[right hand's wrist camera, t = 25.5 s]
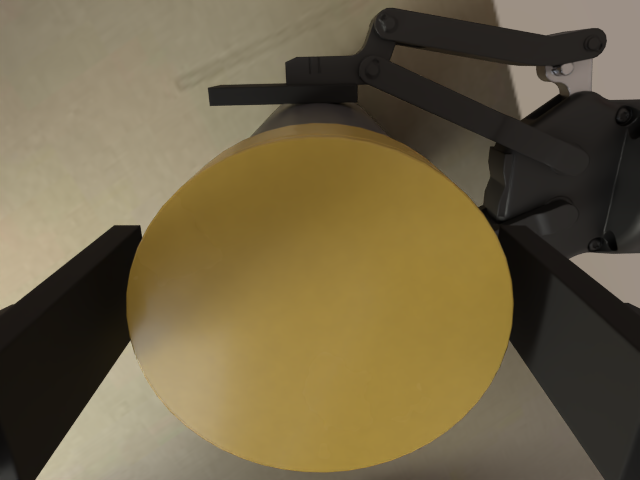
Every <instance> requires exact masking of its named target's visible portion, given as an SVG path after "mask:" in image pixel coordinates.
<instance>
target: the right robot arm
mask: <svg viewBox="0 0 640 480" xmlns="http://www.w3.org/2000/svg"><path fill="white" fill-rule="evenodd" d="M498 239H499V242H500V244H501V246H502V249H503V251H504V254H505V256H506V259H507V263H508V267H509V271H510V275H511V279H512V288H513V300H514V307H513V322H512V329H511V333H510V338H509V340H510V342H511V343H512V345H513V346H514V347H515V349H516V350H517V352H518V353H519V355H520V356H521V358H522V359H523V361H524V362H525V364H526V365H527V366H528V368H529V369H530V371H531V372H532V374H533V375H534V377H535V378H536V380H537V381H538V383H539V384H540V385H541V387H542V388H543V390H544V391H545V393H546V394H547V396H548V397H549V399H550V400H551V402H552V403H553V405H554V406H555V407H556V409H557V410H558V412H559V413H560V415H561V416H562V418H563V419H564V421H565V422H566V424H567V425H568V426H569V428H570V429H571V431H572V432H573V434H574V435H575V437H576V438H577V440H578V441H579V443H580V444H581V446H582V447H583V448H584V450H585V451H586V453H587V454H588V456H589V457H590V459H591V460H592V462H593V463H594V465H595V466H596V467H597V469H598V470H599V472H600V473H601V475H602V476H603V478H604V479H605V480H640V308H638V307H636V306H634V305H631V304H629V303H623V302H622V301H621V300H619V299H618V298H617V297H616V296H614V295H613V294H612V293H611V292H609V291H608V290H607V289H606V288H604V287H603V286H602V285H600V284H599V283H598V282H597V281H595V280H594V279H593V278H592V277H590V276H589V275H588V274H587V273H585V272H584V271H583V270H582V269H580V268H579V267H578V266H576V265H575V264H574V263H573V262H571V261H570V260H569V259H568V258H566V257H565V256H564V255H563V254H561V253H560V252H559V251H558V250H556V249H555V248H554V247H552V246H551V245H550V244H549V243H547V242H546V241H545V240H544V239H542V238H541V237H540V236H539V235H537V234H536V233H535V232H533V231H532V230H531V229H530V228H528V227H527V226H526V225H500V227H499V234H498ZM141 240H142V234H141V227H140V225H114V226H113V227H112V228H110V229H109V230H108V231H107V232H105V233H104V234H103V235H101V236H100V237H99V238H98V239H96V240H95V241H94V242H93V243H91V244H90V245H89V246H88V247H86V248H85V249H84V250H82V251H81V252H80V253H79V254H77V255H76V256H75V257H74V258H72V259H71V260H70V261H69V262H67V263H66V264H65V265H64V266H62V267H61V268H60V269H58V270H57V271H56V272H55V273H53V274H52V275H51V276H50V277H48V278H47V279H46V280H45V281H43V282H42V283H41V284H39V285H38V286H37V287H36V288H34V289H33V290H32V291H31V292H29V293H28V294H27V295H26V296H24V297H23V298H22V299H21V300H19V301H18V302H17V303H15V304H12V305H10V306H8V307H6V308H4V309H2V310H0V480H35V479H36V478H37V476H38V475H39V473H40V472H41V470H42V469H43V467H44V466H45V465H46V463H47V462H48V460H49V459H50V457H51V456H52V454H53V453H54V451H55V450H56V448H57V447H58V446H59V444H60V443H61V441H62V440H63V438H64V437H65V435H66V434H67V432H68V431H69V429H70V428H71V426H72V425H73V424H74V422H75V421H76V419H77V418H78V416H79V415H80V413H81V412H82V410H83V409H84V407H85V406H86V405H87V403H88V402H89V400H90V399H91V397H92V396H93V394H94V393H95V391H96V390H97V388H98V387H99V385H100V384H101V383H102V381H103V380H104V378H105V377H106V375H107V374H108V372H109V371H110V369H111V368H112V366H113V365H114V364H115V362H116V361H117V359H118V358H119V356H120V355H121V353H122V352H123V350H124V349H125V347H126V346H127V345H128V343H129V342H130V335H129V329H128V322H127V315H126V293H127V287H128V280H129V274H130V269H131V266H132V263H133V260H134V256H135V253H136V250H137V247H138V245H139V244H140V242H141Z"/></svg>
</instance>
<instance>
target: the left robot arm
mask: <svg viewBox="0 0 640 480" xmlns="http://www.w3.org/2000/svg"><path fill="white" fill-rule="evenodd" d="M606 42H607V40H606V35H605V33H604V32H603V31H602V30H601V29H599V28H591V29H583V30H575V31H567V32H561V33H556V34H551V35H540V34H535V33H529V32H523V31H518V30H512V29H507V28H502V27H496V26H490V25H485V24H479V23H474V22H468V21H463V20H457V19H452V18H446V17H441V16H435V15H429V14H424V13H418V12H413V11H407V10H402V9H396V8H386V9H384V10H382V11H381V12H380V13H378V14H377V15H376V16H375V17H374V18H373V19H372V20H371V23H370V26H369V30H368V33H367V36H366V39H365V42H364V45H363V47H362V48H361V50H360V51H359V52H358V53H356V54H354V55H352V56H323V57H296V58H294V59H291V60H289V61H287V62H285V65H286V83H284V84H243V85H219V86H214V87H210V88H208V93H209V102H210V106H225V105H267V104H309V103H351V102H357V85H364V84H368V85H371V86H373V87H375V88H377V89H380V90H382V91H384V92H386V93H388V94H391V95H393V96H395V97H397V98H399V99H402V100H404V101H406V102H408V103H411V104H413V105H415V106H417V107H419V108H422V109H424V110H426V111H428V112H430V113H433V114H435V115H437V116H439V117H442V118H444V119H446V120H448V121H450V122H453V123H455V124H457V125H459V126H461V127H464V128H466V129H468V130H470V131H473V132H475V133H477V134H479V135H481V136H484V137H486V138H488V139H490V140H492V141H495V142H496V143H495V146H494V147H490V151H489V160H488V163H489V169H490V179H489V182H488V184H487V187H486V190H485V194H484V203H483V205H482V206H480V207H478V208H479V209H480V211H481V212H482V213H483V214H484V216H485V217H486V219H487V220H488V222H489V224H490V225H491V227H492V228H493V230H494V232H495V233H496V235H497V237H498V234H499V227H500V225H526V226H527V227H528V228H530V229H531V230H532V231H533V232H535V233H536V234H537V235H539V236H540V237H541V238H542V239H544V240H545V241H546V242H547V243H549V244H550V245H551V246H552V247H554V248H555V249H556V250H558V251H559V252H560V253H561V254H563V255H564V256H565V257H566V258H568V259H569V258H571V257H573V256H576V255H578V254H582V253H586V252H594V253H609V254H621V253H640V99H639V100H608V99H605V98H603V97H602V96H601V95H599V94H597V93H595V92H592V58H595V57H597V56H598V55H599V54H601V53H602V51H603V50H604V48H605V46H606ZM395 45H400V46H406V47H412V48H417V49H423V50H429V51H434V52H440V53H446V54H451V55H457V56H463V57H469V58H474V59H480V60H486V61H491V62H497V63H503V64H508V65H517V66H536V71H537V75H538V77H539V78H540V79H541V80H543V81H547V82H553V83H555V84H556V85H557V86H558V88H559V91H560V94H558V95H557V96H555V97H554V98H552V99H551V100H550V101H548V102H547V103H545V104H544V105H542V106H541V107H539V108H538V109H537V110H535V111H534V112H532V113H531V114H529V115H528V116H526V117H525V118H524V119H522V120H521V121H519V120H517V119H514V118H512V117H510V116H507V115H505V114H502V113H500V112H498V111H496V110H493V109H491V108H489V107H487V106H485V105H483V104H481V103H478V102H476V101H474V100H472V99H470V98H468V97H465V96H463V95H461V94H459V93H457V92H455V91H452V90H450V89H448V88H446V87H444V86H442V85H440V84H437V83H435V82H433V81H431V80H429V79H427V78H424V77H422V76H420V75H418V74H416V73H414V72H411V71H409V70H407V69H405V68H403V67H401V66H399V65H396V64H394V63H392V62H390V58H391V55H392V52H393V50H394V47H395Z"/></svg>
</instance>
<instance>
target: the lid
mask: <svg viewBox="0 0 640 480" xmlns="http://www.w3.org/2000/svg"><path fill="white" fill-rule="evenodd" d="M513 307H514V300H513V288H512V279H511V275H510V271H509V267H508V263H507V259H506V256H505V254H504V251H503V249H502V246H501V244H500V242H499V239H498V237H497V235H496V233H495V232H494V230H493V228H492V227H491V225H490V224H489V222H488V220H487V219H486V217H485V216H484V214H483V213H482V212H481V211H480V209H479V208H478V207H477V206H476V205H475V204H474V202H473V201H472V200H471V199H470V198H469V197H468V195H467V194H466V193H464V192H463V191H462V190H461V189H460V188H459V187H458V186H457V185H456V184H454V183H453V182H452V181H451V180H450V179H449V178H448V177H447V176H445V175H444V174H443V173H442V172H441V171H440V170H439V169H438V168H436V167H435V166H434V165H433V164H432V163H431V162H430V161H428V160H427V159H426V158H425V157H424V156H422V155H420V154H419V153H417V152H416V151H414V150H413V149H411V148H410V147H408V146H407V145H405V144H403V143H401V142H399V141H396V140H394V139H392V138H390V137H388V136H386V135H383V134H380V133H377V132H373V131H370V130H367V129H364V128H360V127H354V126H348V125H342V124H328V123H309V124H300V125H290V126H285V127H281V128H277V129H273V130H269V131H265V132H263V133H260V134H258V135H255V136H252V137H250V138H247V139H245V140H243V141H241V142H239V143H237V144H236V145H234V146H232V147H230V148H229V149H227V150H225V151H223V152H222V153H221V154H219V155H218V156H217V157H215V158H214V159H213V160H212V161H210V162H209V163H208V164H206V165H205V166H204V167H203V168H202V169H201V170H200V171H198V172H197V173H196V174H195V175H194V176H193V177H192V178H191V179H189V180H188V181H187V182H186V183H185V184H184V185H183V186H182V187H181V188H180V189H179V190H178V191H177V192H176V193H175V194H174V195H173V196H172V197H171V198H170V199H169V200H168V201H167V202H166V203H165V204H164V205H163V206H162V208H161V209H160V210H159V212H158V213H157V215H156V216H155V217H154V219H153V220H152V222H151V223H150V224H149V226H148V228H147V230H146V232H145V234H144V236H143V238H142V240H141V242H140V244H139V245H138V247H137V250H136V253H135V256H134V260H133V263H132V266H131V269H130V274H129V280H128V287H127V293H126V315H127V322H128V329H129V335H130V340H131V343H132V346H133V350H134V353H135V356H136V359H137V361H138V363H139V365H140V367H141V370H142V372H143V374H144V376H145V378H146V379H147V381H148V383H149V384H150V386H151V387H152V389H153V390H154V392H155V393H156V395H157V396H158V397H159V399H160V400H161V401H162V402H163V403H164V404H165V406H166V407H167V408H168V409H169V410H170V412H171V413H173V414H174V415H175V416H176V417H177V418H178V419H179V420H180V421H181V422H182V423H183V424H184V425H185V426H187V427H188V428H189V429H191V430H192V431H193V432H195V433H196V434H198V435H199V436H200V437H202V438H203V439H205V440H206V441H208V442H210V443H212V444H213V445H215V446H217V447H219V448H220V449H222V450H224V451H227V452H229V453H231V454H233V455H236V456H238V457H240V458H243V459H246V460H249V461H252V462H255V463H258V464H261V465H265V466H270V467H275V468H279V469H284V470H293V471H301V472H337V471H349V470H354V469H360V468H366V467H371V466H374V465H378V464H381V463H385V462H389V461H391V460H394V459H397V458H399V457H402V456H404V455H407V454H409V453H411V452H413V451H415V450H417V449H419V448H421V447H423V446H425V445H427V444H429V443H430V442H432V441H433V440H435V439H436V438H438V437H439V436H441V435H442V434H444V433H445V432H447V431H448V430H449V429H450V428H452V427H453V426H454V425H455V424H456V423H457V422H459V421H460V420H461V419H462V418H463V417H464V416H465V415H466V414H467V413H468V412H469V411H470V410H471V409H472V408H473V407H474V406H475V405H476V403H477V402H478V401H479V400H480V398H481V397H482V396H483V394H484V393H485V391H486V390H487V389H488V387H489V386H490V384H491V382H492V381H493V379H494V377H495V375H496V373H497V371H498V370H499V368H500V366H501V363H502V360H503V358H504V355H505V352H506V350H507V347H508V343H509V338H510V333H511V329H512V322H513Z"/></svg>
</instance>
